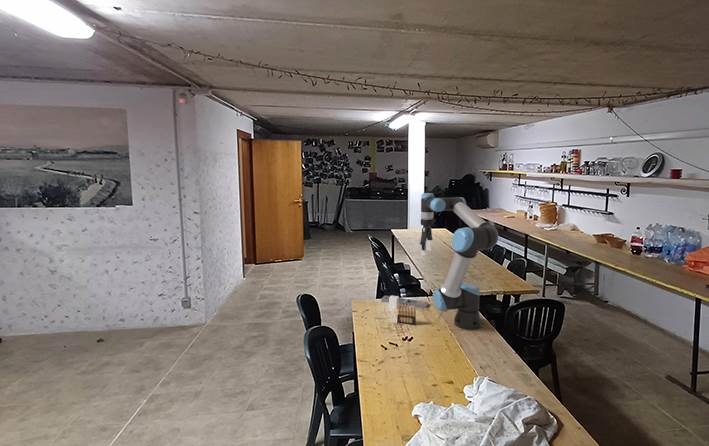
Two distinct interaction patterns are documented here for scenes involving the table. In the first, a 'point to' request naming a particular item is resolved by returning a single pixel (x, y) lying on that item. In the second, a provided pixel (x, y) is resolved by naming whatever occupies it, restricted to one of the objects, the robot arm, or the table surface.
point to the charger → (393, 302)
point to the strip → (408, 302)
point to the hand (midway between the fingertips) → (426, 252)
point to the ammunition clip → (406, 315)
